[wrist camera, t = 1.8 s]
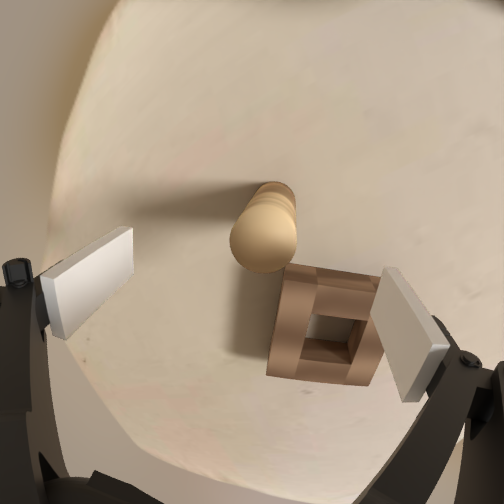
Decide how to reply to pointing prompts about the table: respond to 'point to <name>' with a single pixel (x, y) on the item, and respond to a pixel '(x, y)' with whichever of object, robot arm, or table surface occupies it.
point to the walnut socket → (330, 304)
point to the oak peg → (266, 230)
